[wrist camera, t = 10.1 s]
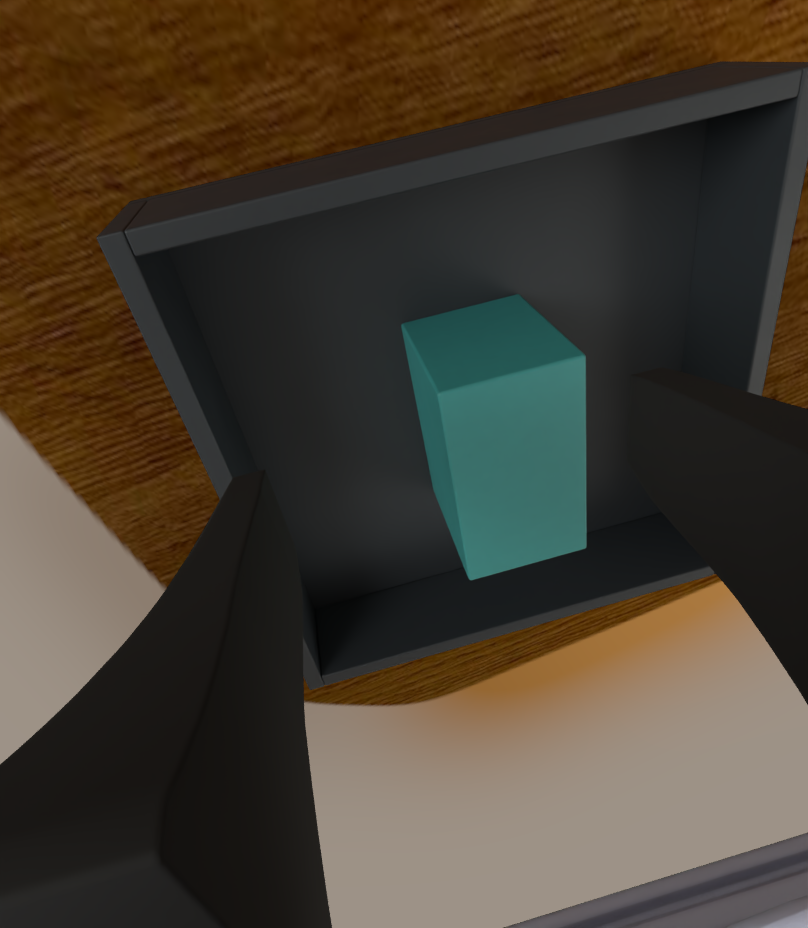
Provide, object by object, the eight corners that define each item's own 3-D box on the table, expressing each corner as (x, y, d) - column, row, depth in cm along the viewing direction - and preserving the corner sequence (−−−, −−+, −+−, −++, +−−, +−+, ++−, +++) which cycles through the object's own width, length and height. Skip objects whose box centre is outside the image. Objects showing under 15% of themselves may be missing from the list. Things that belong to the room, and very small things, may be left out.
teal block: (433, 490, 23) (469, 582, 19) (400, 322, 19) (436, 394, 15) (531, 464, 23) (587, 549, 19) (519, 292, 19) (587, 354, 15)
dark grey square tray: (304, 612, 26) (309, 690, 23) (128, 201, 16) (95, 237, 13) (672, 509, 27) (728, 571, 24) (721, 61, 17) (828, 61, 14)
